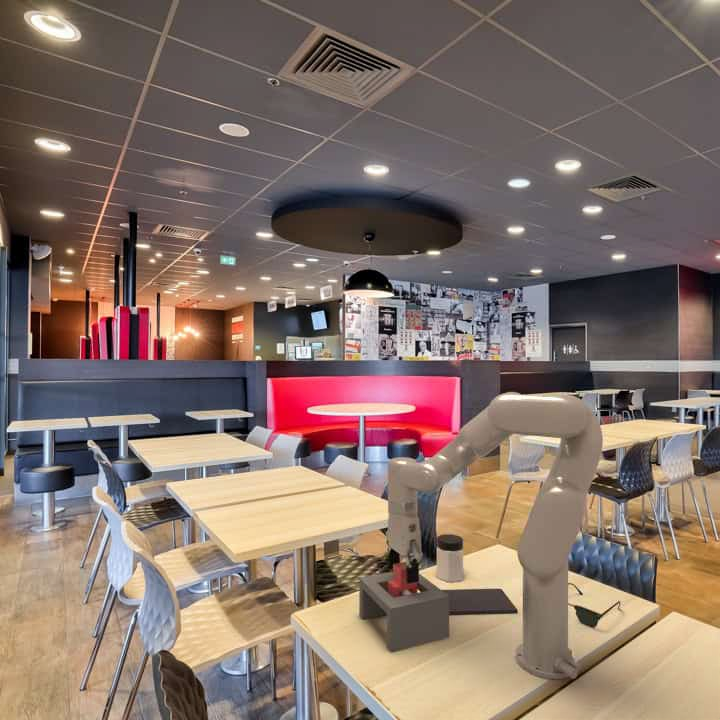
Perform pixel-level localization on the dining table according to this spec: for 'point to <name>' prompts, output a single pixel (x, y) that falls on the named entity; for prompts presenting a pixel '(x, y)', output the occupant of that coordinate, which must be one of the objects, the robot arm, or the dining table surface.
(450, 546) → the jar
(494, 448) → the robot arm
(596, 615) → the sunglasses
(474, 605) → the notebook
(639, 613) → the dining table surface
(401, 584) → the red stepped block
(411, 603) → the grey frame with crossbar
